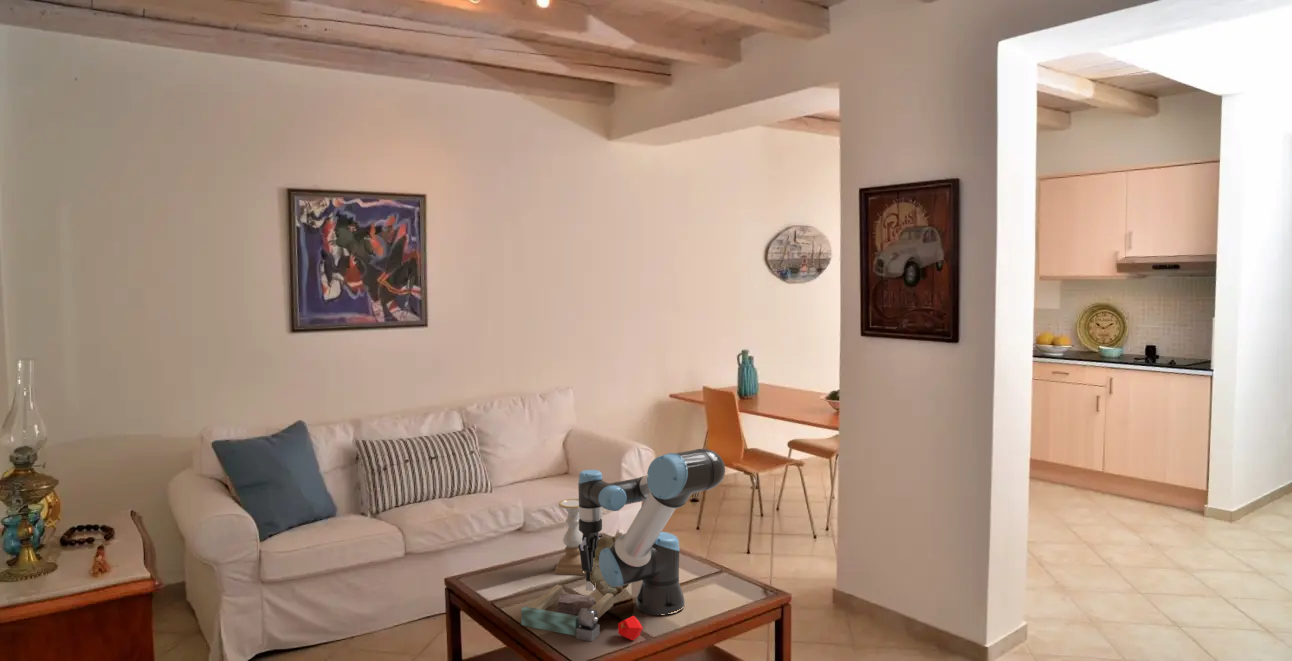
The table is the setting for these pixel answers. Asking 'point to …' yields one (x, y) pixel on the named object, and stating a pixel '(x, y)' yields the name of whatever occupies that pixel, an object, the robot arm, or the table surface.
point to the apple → (630, 628)
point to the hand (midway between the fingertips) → (590, 589)
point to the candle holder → (571, 541)
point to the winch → (587, 625)
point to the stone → (573, 603)
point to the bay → (557, 621)
